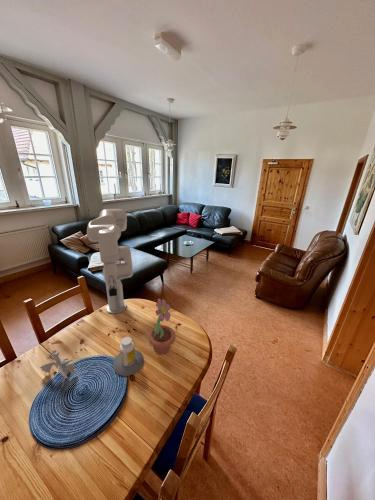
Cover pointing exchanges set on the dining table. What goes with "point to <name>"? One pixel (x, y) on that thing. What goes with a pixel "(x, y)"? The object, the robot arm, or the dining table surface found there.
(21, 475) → the dining table surface
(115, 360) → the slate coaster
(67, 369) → the fairy figurine
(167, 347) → the decorative flower
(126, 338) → the supplement bottle
